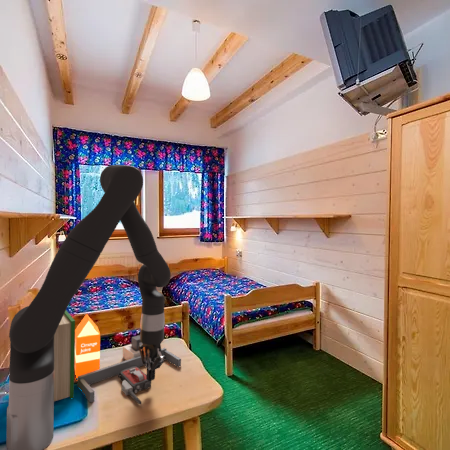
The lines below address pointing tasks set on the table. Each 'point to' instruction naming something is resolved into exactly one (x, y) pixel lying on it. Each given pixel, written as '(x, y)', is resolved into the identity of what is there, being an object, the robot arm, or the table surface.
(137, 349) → the plug
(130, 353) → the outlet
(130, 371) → the walkie-talkie
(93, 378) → the cradle
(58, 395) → the hardback book
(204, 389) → the table surface
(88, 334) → the orange juice
